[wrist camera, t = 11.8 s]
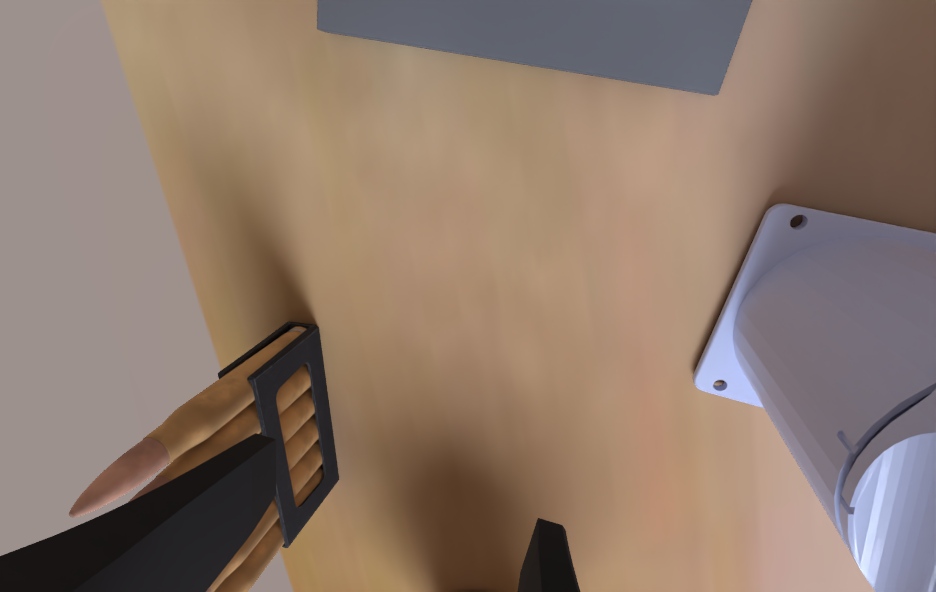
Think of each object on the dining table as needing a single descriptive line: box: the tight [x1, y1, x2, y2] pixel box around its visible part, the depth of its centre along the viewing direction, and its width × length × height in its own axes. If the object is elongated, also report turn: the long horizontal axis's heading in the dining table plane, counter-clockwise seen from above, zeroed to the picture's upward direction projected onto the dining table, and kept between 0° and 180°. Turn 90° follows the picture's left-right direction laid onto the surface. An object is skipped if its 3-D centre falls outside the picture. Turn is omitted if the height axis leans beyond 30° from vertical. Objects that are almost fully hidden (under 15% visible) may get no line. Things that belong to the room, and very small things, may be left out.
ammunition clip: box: [69, 322, 339, 592], centre depth 20 cm, size 11×2×12 cm, turn 0°
